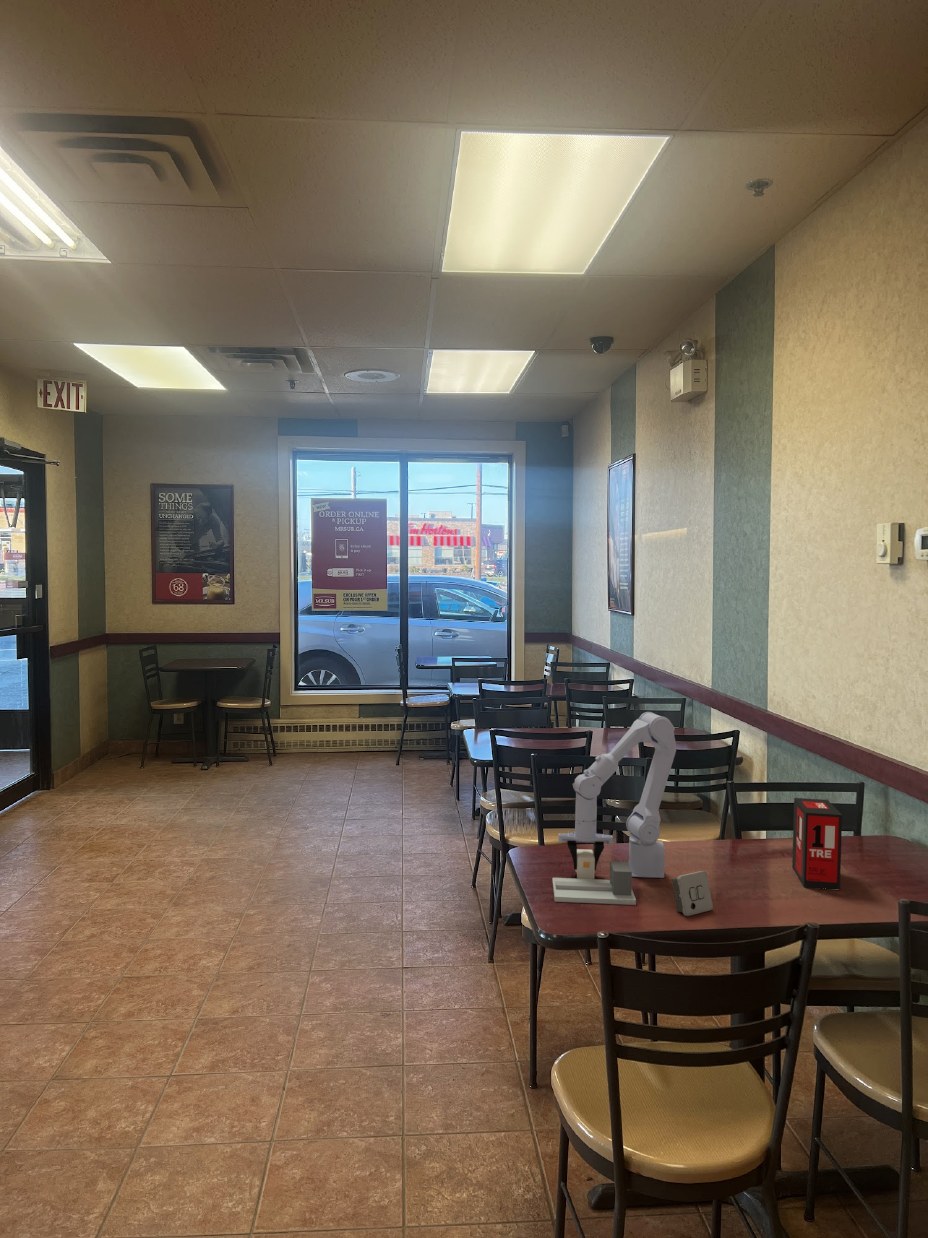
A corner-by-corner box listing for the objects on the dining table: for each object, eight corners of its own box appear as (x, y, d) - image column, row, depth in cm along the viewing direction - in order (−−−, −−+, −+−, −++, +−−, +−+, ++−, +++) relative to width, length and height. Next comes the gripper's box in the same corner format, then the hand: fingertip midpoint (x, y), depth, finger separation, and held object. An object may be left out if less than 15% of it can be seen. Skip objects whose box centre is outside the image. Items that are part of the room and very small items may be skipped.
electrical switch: (686, 918, 196) (684, 878, 196) (670, 912, 200) (668, 873, 201) (713, 911, 201) (712, 872, 201) (697, 905, 205) (696, 868, 206)
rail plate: (628, 885, 217) (629, 858, 217) (635, 905, 203) (636, 876, 203) (552, 882, 219) (552, 855, 218) (554, 901, 205) (555, 873, 204)
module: (591, 871, 228) (592, 849, 228) (594, 882, 219) (595, 860, 219) (575, 870, 228) (575, 849, 228) (577, 881, 219) (578, 859, 219)
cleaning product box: (839, 890, 216) (842, 815, 215) (803, 887, 218) (806, 812, 217) (825, 870, 232) (827, 799, 232) (792, 867, 234) (794, 797, 233)
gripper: (611, 816, 227) (610, 865, 228) (558, 814, 228) (557, 863, 228) (614, 823, 220) (613, 873, 220) (559, 821, 221) (558, 871, 221)
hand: (584, 868), depth 224 cm, fingers closed on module, 4 cm apart
